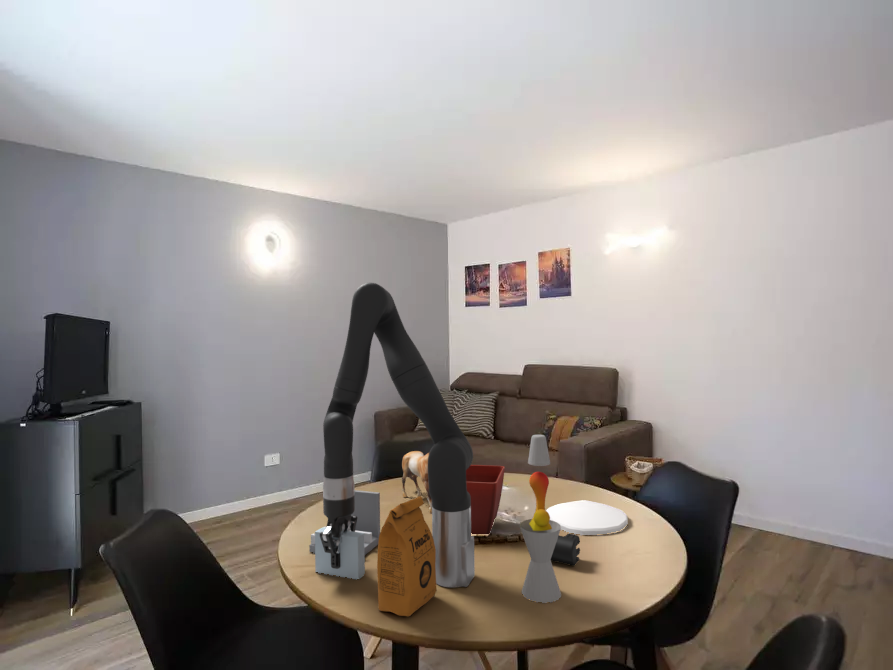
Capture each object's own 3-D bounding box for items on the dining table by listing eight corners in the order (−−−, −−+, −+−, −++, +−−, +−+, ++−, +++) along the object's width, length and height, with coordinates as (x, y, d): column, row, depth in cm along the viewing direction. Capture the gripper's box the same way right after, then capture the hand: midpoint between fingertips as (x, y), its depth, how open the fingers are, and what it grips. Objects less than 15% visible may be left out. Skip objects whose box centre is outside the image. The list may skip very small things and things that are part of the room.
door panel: (364, 574, 126) (364, 533, 126) (358, 579, 123) (357, 537, 123) (322, 567, 130) (321, 527, 130) (315, 572, 127) (314, 531, 127)
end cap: (534, 562, 132) (533, 535, 132) (544, 552, 138) (544, 526, 138) (572, 571, 126) (572, 543, 126) (581, 560, 132) (581, 533, 132)
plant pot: (430, 538, 148) (429, 479, 148) (446, 515, 166) (445, 463, 166) (497, 543, 143) (496, 482, 143) (506, 520, 162) (505, 465, 162)
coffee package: (443, 598, 114) (442, 497, 114) (408, 624, 103) (406, 514, 104) (408, 586, 119) (407, 490, 119) (371, 610, 109) (369, 505, 109)
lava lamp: (517, 584, 120) (514, 432, 120) (555, 582, 120) (553, 431, 120) (525, 604, 110) (523, 439, 111) (567, 602, 111) (564, 438, 111)
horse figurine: (452, 514, 168) (451, 450, 168) (430, 518, 164) (429, 453, 164) (412, 489, 195) (411, 435, 195) (393, 493, 192) (392, 437, 192)
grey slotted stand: (380, 542, 145) (379, 492, 145) (358, 560, 134) (357, 505, 134) (334, 536, 150) (333, 487, 150) (309, 552, 139) (308, 500, 139)
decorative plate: (589, 529, 143) (528, 505, 164) (589, 544, 143) (528, 518, 164) (646, 511, 157) (583, 491, 178) (646, 525, 157) (583, 503, 178)
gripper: (336, 504, 119) (337, 579, 119) (366, 487, 132) (367, 555, 132) (308, 501, 121) (309, 575, 121) (341, 484, 135) (342, 551, 134)
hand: (339, 564), depth 127 cm, fingers closed on door panel, 3 cm apart
